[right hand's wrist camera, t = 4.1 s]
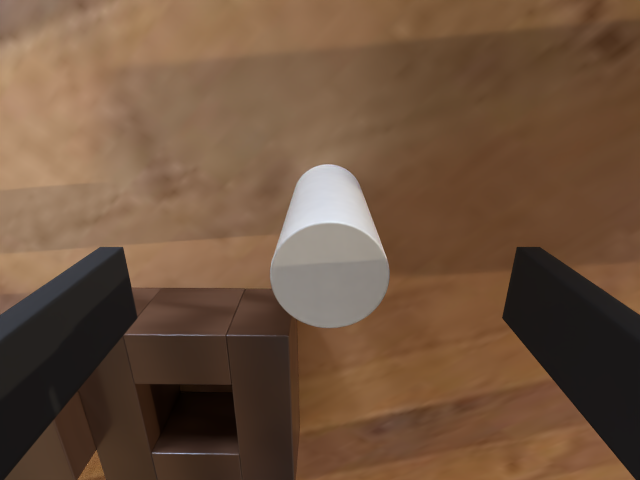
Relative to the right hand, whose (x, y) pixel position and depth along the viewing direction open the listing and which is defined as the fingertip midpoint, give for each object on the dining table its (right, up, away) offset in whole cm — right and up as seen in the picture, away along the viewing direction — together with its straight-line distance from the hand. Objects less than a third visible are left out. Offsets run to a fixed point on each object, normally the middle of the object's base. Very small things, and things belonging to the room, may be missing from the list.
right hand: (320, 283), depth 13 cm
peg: (0, +4, +9) cm, 10 cm away
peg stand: (-18, -7, +14) cm, 23 cm away
